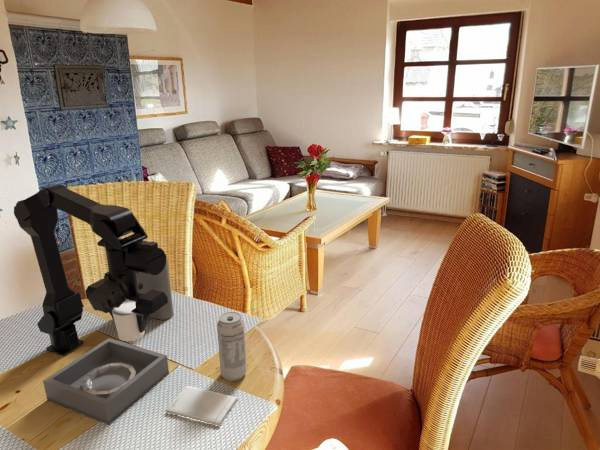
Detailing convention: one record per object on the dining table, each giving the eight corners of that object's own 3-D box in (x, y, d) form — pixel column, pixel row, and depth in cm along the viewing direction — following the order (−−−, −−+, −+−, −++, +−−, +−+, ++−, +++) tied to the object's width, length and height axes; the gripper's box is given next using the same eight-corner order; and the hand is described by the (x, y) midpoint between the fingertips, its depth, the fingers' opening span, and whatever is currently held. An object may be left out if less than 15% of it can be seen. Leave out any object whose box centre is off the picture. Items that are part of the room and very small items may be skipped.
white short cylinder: (153, 330, 107) (150, 303, 105) (132, 345, 101) (128, 317, 99) (130, 324, 110) (127, 297, 107) (109, 338, 104) (104, 311, 101)
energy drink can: (246, 365, 110) (243, 309, 105) (247, 381, 104) (244, 323, 99) (221, 367, 109) (216, 311, 104) (220, 383, 103) (216, 325, 99)
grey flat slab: (165, 409, 94) (219, 422, 90) (187, 384, 102) (237, 395, 98) (166, 415, 95) (220, 429, 91) (187, 390, 102) (238, 402, 98)
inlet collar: (71, 391, 100) (70, 385, 100) (110, 363, 110) (110, 358, 109) (109, 405, 96) (108, 399, 95) (146, 375, 105) (145, 370, 105)
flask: (177, 311, 135) (170, 247, 129) (168, 321, 130) (161, 255, 124) (131, 307, 138) (122, 245, 132) (120, 316, 132) (110, 252, 126)
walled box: (47, 400, 99) (42, 380, 97) (111, 355, 114) (108, 337, 113) (109, 425, 92) (105, 404, 90) (169, 373, 107) (166, 355, 105)
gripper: (59, 273, 96) (71, 337, 101) (129, 289, 89) (138, 357, 94) (100, 254, 106) (109, 314, 111) (166, 267, 99) (172, 330, 104)
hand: (130, 328), depth 105 cm, fingers closed on white short cylinder, 6 cm apart
